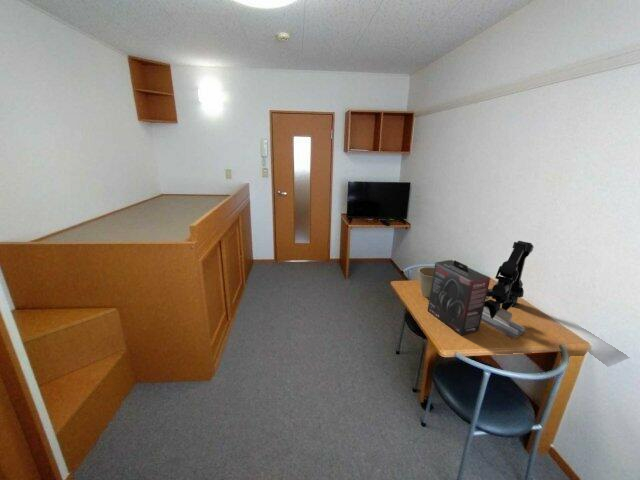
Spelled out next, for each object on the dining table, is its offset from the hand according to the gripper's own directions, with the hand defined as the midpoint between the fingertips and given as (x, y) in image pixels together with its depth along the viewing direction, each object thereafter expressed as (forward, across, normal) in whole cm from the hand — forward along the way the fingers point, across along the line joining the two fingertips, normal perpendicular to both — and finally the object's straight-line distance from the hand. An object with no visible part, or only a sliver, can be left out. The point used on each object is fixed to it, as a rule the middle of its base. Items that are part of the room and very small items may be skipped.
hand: (497, 315), depth 149 cm
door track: (+4, 0, 0) cm, 4 cm away
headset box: (+4, +19, -12) cm, 23 cm away
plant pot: (+4, +9, -37) cm, 38 cm away
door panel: (+3, 0, 0) cm, 3 cm away
